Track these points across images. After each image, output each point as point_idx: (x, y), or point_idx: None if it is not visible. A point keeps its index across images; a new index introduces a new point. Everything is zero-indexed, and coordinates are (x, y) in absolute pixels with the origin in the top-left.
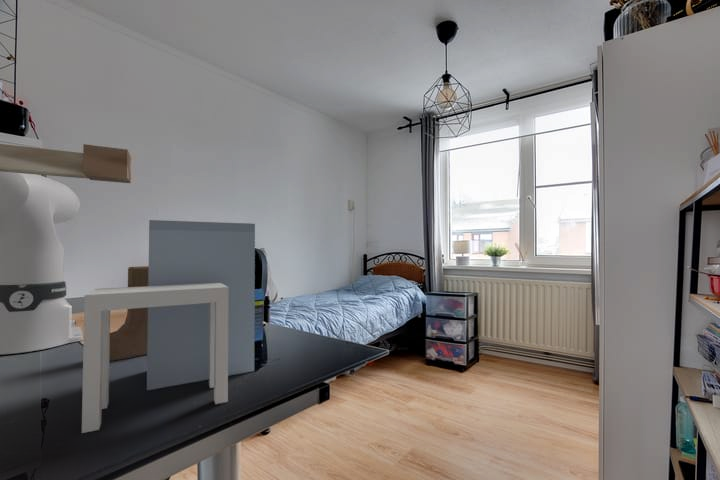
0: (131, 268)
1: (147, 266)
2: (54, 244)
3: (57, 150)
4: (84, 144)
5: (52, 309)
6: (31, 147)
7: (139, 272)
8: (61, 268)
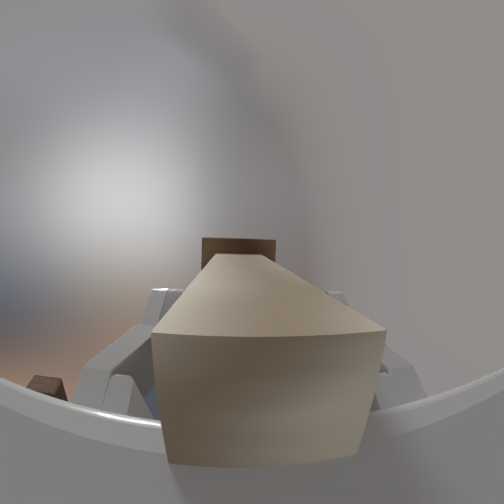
0: (45, 394)
1: (41, 379)
2: None
3: (265, 257)
4: (275, 240)
5: None
6: (272, 261)
7: (58, 396)
8: None
